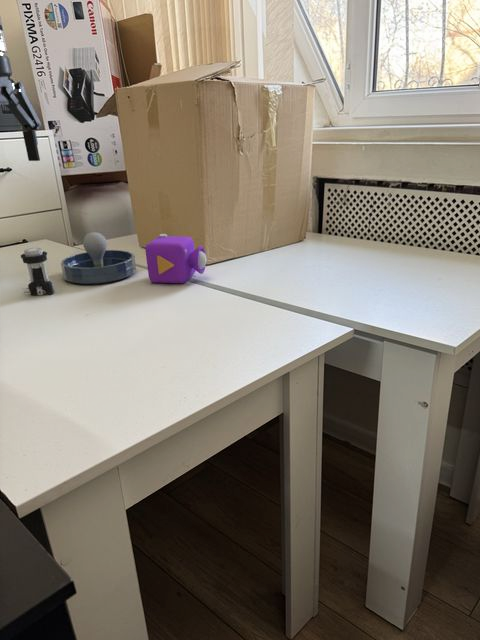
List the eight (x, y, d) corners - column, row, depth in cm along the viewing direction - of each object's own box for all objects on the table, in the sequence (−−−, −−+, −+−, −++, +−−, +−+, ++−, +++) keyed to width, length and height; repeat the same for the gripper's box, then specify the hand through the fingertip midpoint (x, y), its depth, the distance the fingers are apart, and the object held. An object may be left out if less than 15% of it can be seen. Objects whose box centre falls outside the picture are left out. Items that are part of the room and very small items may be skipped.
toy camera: (206, 284, 116) (203, 241, 112) (147, 286, 117) (141, 243, 112) (210, 271, 126) (207, 231, 122) (155, 273, 126) (150, 232, 122)
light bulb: (84, 275, 124) (77, 234, 120) (94, 269, 129) (87, 229, 124) (105, 276, 123) (98, 235, 119) (114, 269, 128) (108, 230, 124)
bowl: (49, 282, 121) (45, 265, 120) (93, 263, 136) (90, 248, 134) (110, 288, 116) (107, 270, 114) (149, 268, 131) (147, 251, 129)
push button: (20, 298, 111) (9, 253, 107) (27, 291, 116) (17, 247, 112) (51, 296, 112) (42, 251, 108) (57, 289, 117) (48, 246, 113)
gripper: (-49, 47, 93) (-19, 169, 102) (45, 58, 114) (63, 158, 123) (-79, 50, 96) (-47, 169, 105) (18, 60, 117) (38, 158, 126)
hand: (13, 163), depth 114 cm, fingers open, 13 cm apart
